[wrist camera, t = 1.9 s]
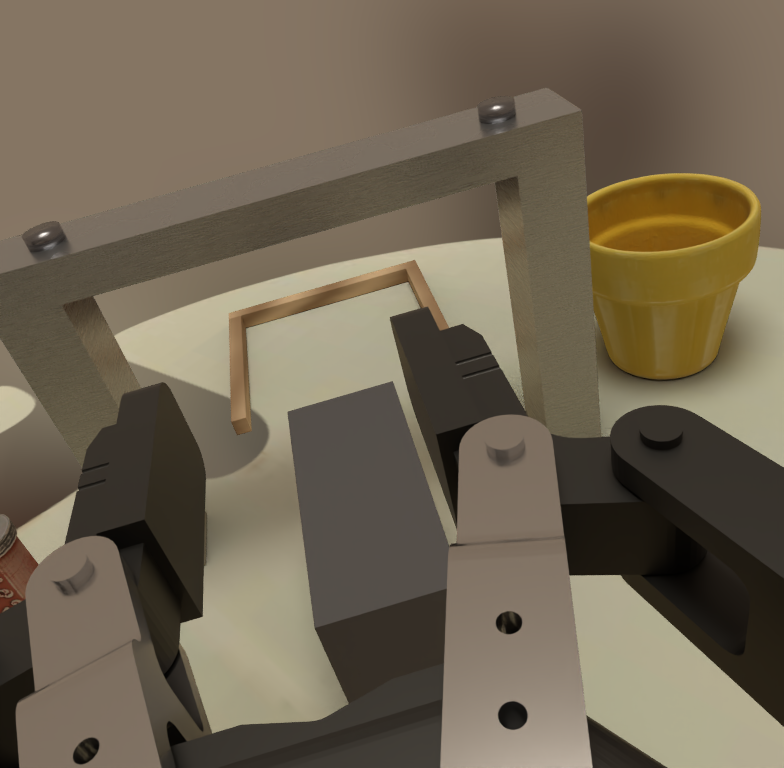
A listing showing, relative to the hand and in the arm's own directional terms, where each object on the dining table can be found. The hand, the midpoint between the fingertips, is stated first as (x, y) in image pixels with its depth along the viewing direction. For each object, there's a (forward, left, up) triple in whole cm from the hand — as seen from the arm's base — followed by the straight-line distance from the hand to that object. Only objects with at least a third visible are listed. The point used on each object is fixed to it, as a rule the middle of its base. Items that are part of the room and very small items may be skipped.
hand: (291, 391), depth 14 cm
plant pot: (+20, +25, -22) cm, 39 cm away
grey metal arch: (0, +20, -22) cm, 30 cm away
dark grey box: (0, +10, -22) cm, 24 cm away
